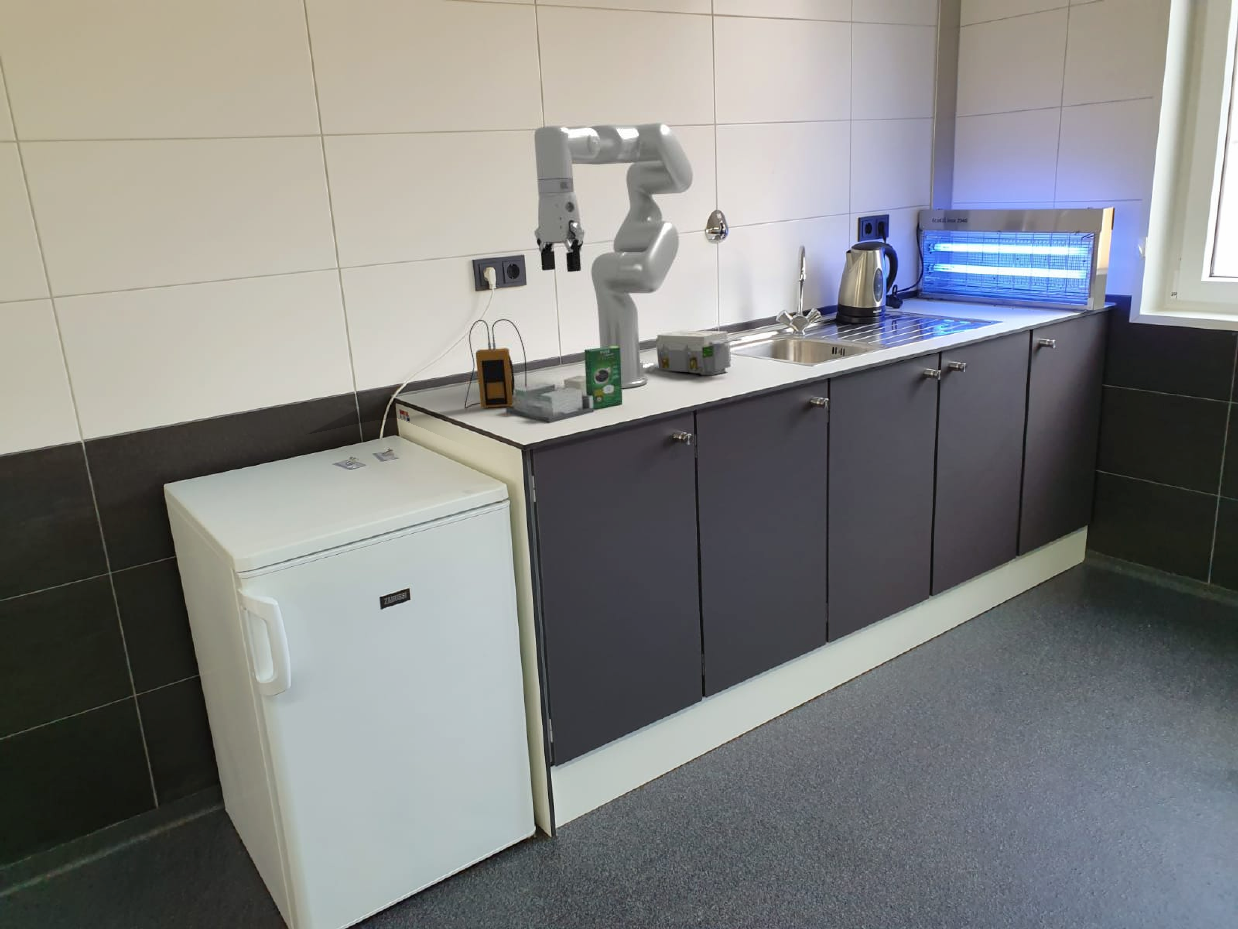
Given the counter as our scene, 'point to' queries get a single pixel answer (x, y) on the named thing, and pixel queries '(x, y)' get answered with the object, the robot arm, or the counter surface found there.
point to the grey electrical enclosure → (694, 351)
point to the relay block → (576, 383)
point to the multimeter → (494, 374)
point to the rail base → (550, 402)
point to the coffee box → (603, 376)
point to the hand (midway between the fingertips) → (561, 270)
